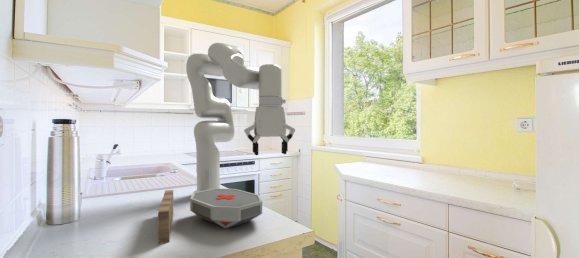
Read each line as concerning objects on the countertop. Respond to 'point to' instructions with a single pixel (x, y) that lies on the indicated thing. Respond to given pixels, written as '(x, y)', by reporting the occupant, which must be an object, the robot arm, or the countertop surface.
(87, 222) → the countertop surface
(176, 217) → the countertop surface
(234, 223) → the first aid kit
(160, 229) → the walnut board
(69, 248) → the countertop surface
